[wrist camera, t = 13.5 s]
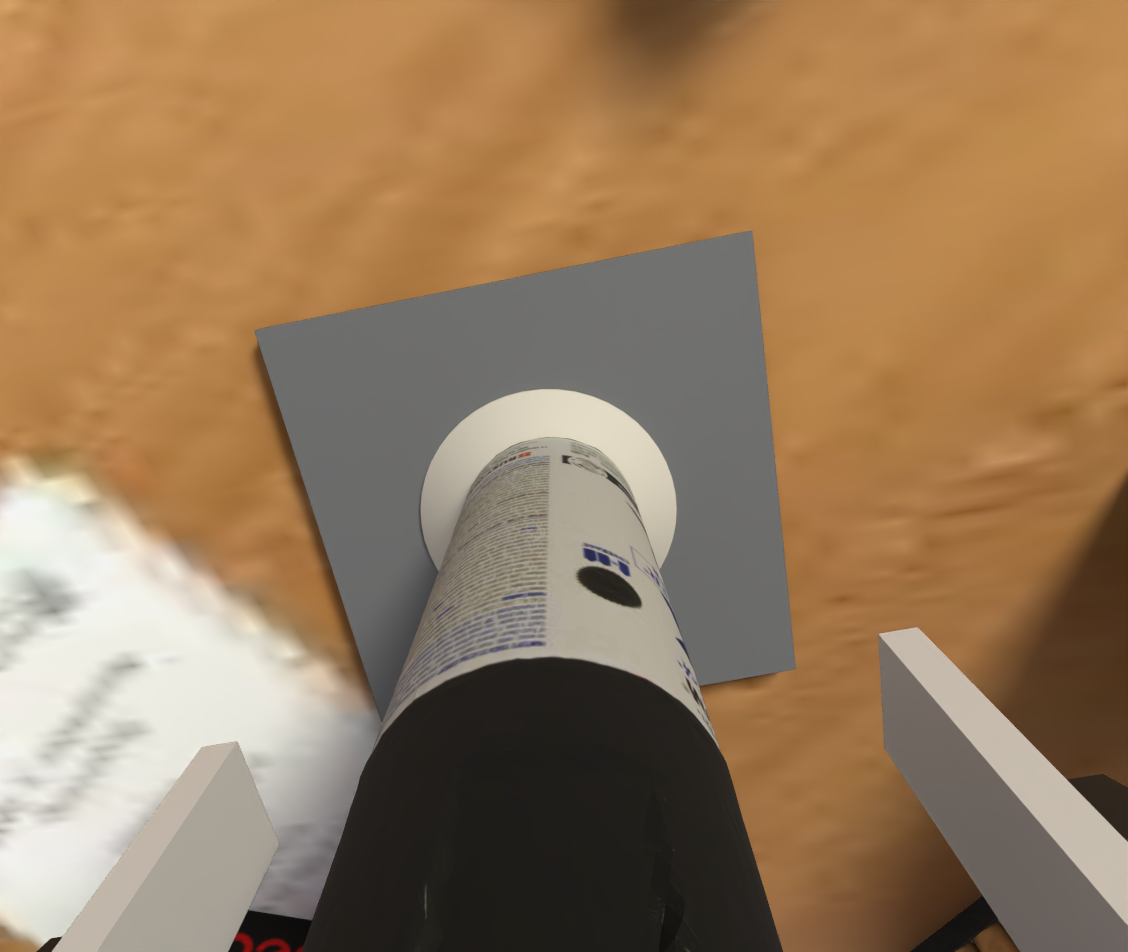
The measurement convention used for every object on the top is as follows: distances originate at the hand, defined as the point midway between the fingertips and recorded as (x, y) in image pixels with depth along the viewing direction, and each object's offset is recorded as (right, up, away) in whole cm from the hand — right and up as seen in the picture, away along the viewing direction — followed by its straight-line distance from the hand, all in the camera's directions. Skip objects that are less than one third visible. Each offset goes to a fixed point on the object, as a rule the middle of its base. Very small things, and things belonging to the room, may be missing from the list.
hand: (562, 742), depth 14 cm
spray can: (-1, +4, +13) cm, 13 cm away
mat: (-1, +4, +14) cm, 14 cm away
